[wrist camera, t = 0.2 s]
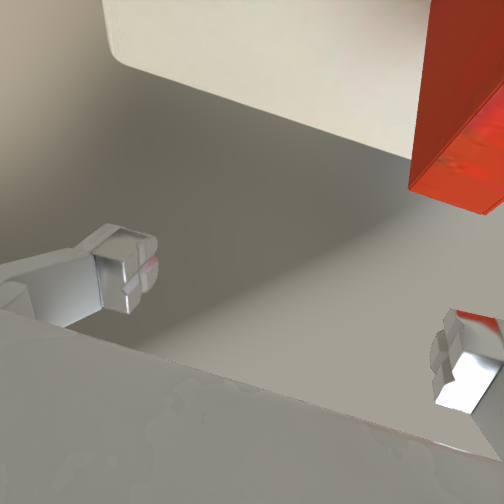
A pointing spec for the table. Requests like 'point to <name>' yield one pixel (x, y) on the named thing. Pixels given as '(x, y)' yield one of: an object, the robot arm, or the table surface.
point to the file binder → (461, 107)
